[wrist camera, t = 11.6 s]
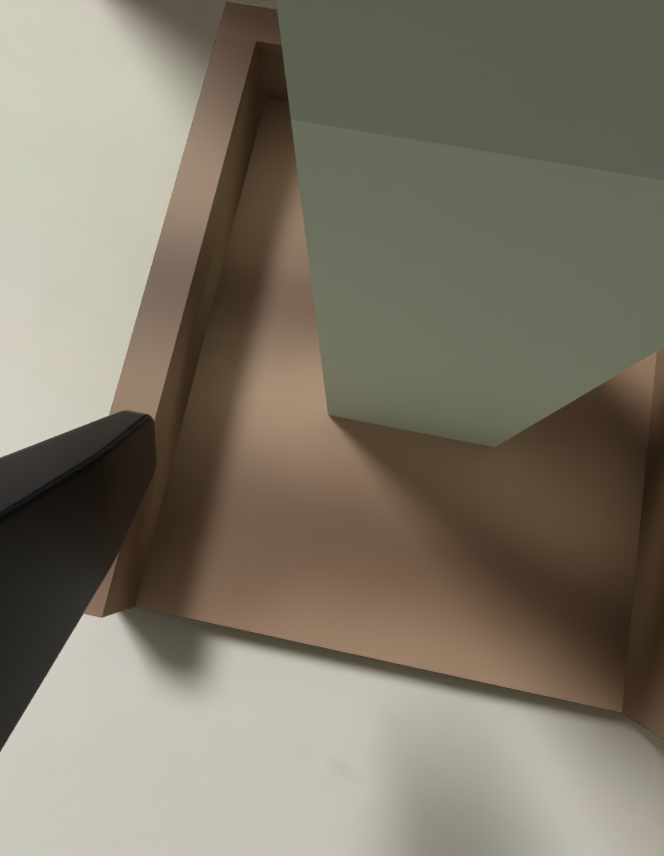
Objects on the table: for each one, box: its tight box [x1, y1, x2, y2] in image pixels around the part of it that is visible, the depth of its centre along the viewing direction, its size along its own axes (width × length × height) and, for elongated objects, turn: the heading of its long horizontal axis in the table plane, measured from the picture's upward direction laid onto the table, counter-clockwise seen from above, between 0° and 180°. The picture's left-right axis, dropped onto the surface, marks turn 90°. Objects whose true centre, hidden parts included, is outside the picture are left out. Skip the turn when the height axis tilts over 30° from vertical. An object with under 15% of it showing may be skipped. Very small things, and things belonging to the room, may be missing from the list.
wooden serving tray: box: [83, 2, 664, 739], centre depth 16 cm, size 18×16×3 cm
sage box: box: [276, 0, 664, 447], centre depth 10 cm, size 5×5×14 cm
